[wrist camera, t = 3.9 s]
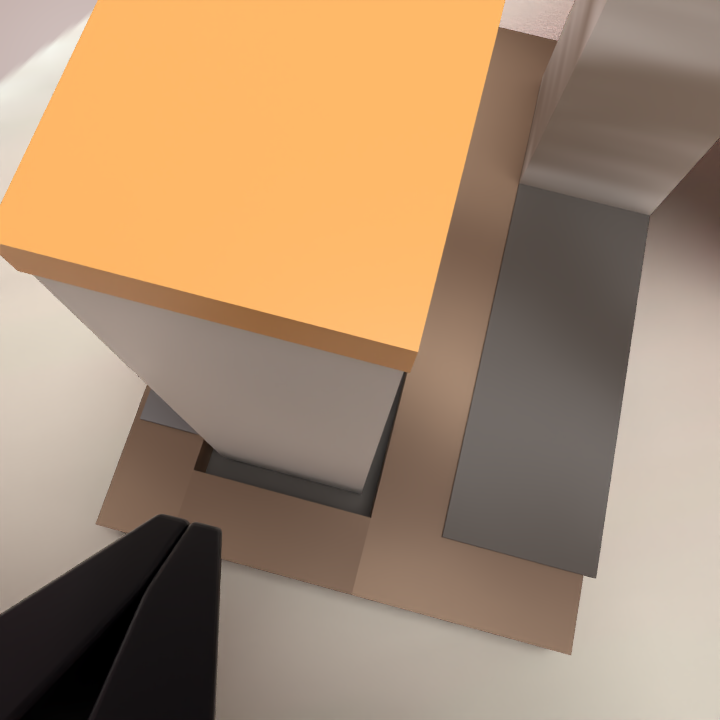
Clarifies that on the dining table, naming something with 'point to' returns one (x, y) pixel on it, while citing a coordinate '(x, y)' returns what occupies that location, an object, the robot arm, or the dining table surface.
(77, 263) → the switch tab
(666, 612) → the dining table surface
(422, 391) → the switch board
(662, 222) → the dining table surface
